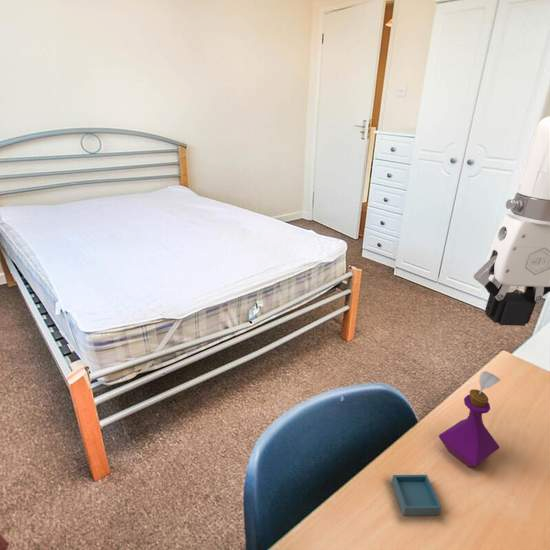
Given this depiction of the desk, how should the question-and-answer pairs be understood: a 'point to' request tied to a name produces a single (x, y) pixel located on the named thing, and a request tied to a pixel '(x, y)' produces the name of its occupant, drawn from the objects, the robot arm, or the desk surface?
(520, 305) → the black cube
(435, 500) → the shallow rectangular tray
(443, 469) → the desk surface
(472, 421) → the perfume bottle
